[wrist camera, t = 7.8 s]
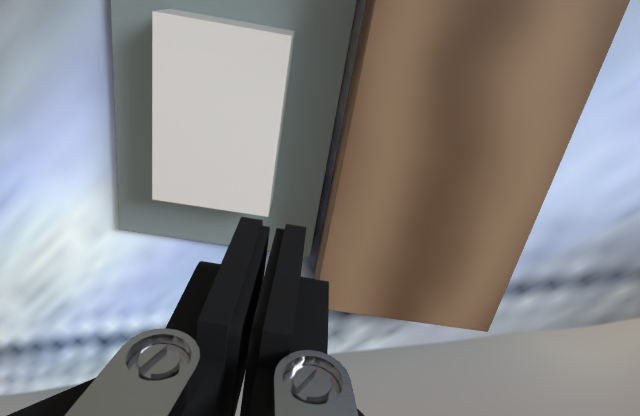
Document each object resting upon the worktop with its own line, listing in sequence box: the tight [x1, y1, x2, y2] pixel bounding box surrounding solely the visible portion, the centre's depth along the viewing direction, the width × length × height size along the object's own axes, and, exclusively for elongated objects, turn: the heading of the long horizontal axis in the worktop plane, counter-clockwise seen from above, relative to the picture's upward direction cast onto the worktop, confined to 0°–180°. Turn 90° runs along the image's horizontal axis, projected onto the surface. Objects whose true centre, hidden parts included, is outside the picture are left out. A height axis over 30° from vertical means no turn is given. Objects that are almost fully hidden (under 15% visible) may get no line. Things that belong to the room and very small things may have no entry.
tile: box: [152, 9, 295, 217], centre depth 22 cm, size 6×9×2 cm, turn 171°
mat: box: [111, 0, 357, 257], centre depth 24 cm, size 12×16×1 cm
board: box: [315, 0, 630, 332], centre depth 23 cm, size 10×18×4 cm, turn 171°
